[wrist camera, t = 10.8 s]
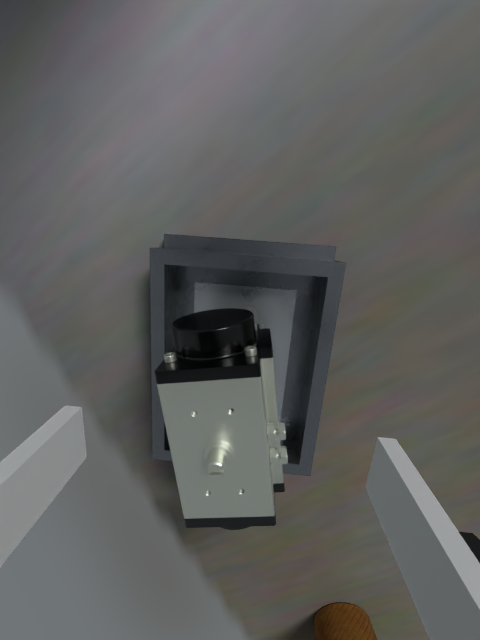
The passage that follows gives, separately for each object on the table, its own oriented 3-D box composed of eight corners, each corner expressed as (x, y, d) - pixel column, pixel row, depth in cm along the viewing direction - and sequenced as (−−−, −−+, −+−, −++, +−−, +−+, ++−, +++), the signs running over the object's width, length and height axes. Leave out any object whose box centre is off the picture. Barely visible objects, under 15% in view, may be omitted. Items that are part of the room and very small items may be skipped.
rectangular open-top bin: (168, 234, 22) (149, 232, 19) (332, 246, 22) (348, 247, 18) (167, 437, 28) (152, 469, 24) (301, 451, 27) (308, 486, 23)
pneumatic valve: (217, 423, 25) (184, 572, 14) (198, 295, 23) (136, 350, 11) (279, 419, 25) (297, 571, 13) (268, 288, 22) (279, 338, 10)
